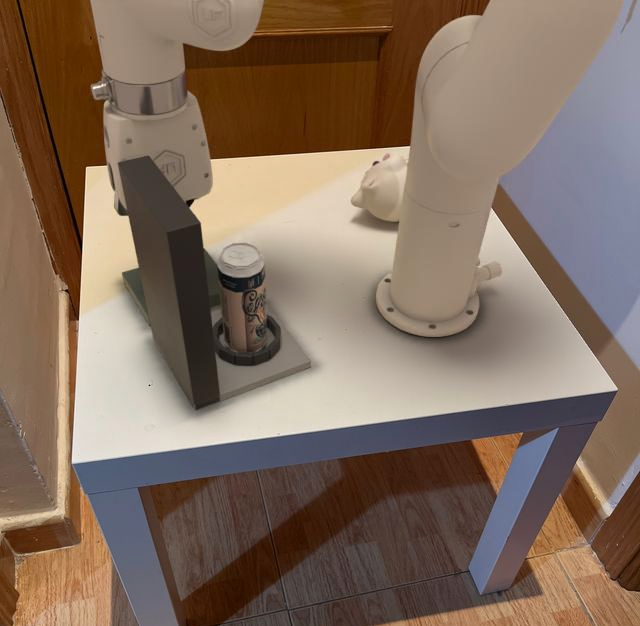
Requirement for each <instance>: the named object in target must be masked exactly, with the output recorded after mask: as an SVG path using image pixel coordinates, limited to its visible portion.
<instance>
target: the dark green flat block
mask: <svg viewBox="0 0 640 626" xmlns="http://www.w3.org/2000/svg"><path fill="white" fill-rule="evenodd" d="M204 255H205V264H206V273H207V282H208V291H209V300H210V308H212V307H215V306H218V305H221V299H220V289H219V279H218V269H217V262H216V261H215V260H214V259H213V257H212V256H211V255H210V253H209V252H208V250H207V249H206V248H204ZM121 276H122V280H123V284H124V286H125V287H126V290H127V291H128V292H129V295H130V296H131V297H132V299H133V301H134V303H135V304H136V306H137V308H138V309H139V311H140V312H141V314H142V316H143V318H144V320H145V321H146V323H147V324H148V327H150V328H151V325H150V320H149V315H148V310H147V305H146V300H145V295H144V290H143V285H142V281H141V276H140V271H139V267H136V268H131V269H129V270H125V271H122V272H121Z"/></svg>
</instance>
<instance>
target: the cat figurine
mask: <svg viewBox="0 0 640 626" xmlns="http://www.w3.org/2000/svg"><path fill="white" fill-rule="evenodd" d="M408 159H409V158H407V159H405V157H403V155H402V154H398V153H397V154H392V155H391V153H390V152H387V153H385V155H384V156H383V157H382V159H381V160H380V161H379V160H374V161H373V162H372V165H371V166H370V168H369V169H368V170H367V171H365V174H364V175H363V178H362V180H361V183H360V187H359V189H358V190H357V191H356V192H355V193H353V195H352V196H351V198H350V203H351V205H352V206H353V207H355V208H358V209H363V210H366V211H368V212H369V213H370V214H371V215H373V216H374V217H375V218H377V219H379V220H382V221H384V222H392V223H395V222H399V220H400V213H401V206H402V199H403V192H404V185H405V181H406V174H407V166H408Z"/></svg>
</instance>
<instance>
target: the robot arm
mask: <svg viewBox="0 0 640 626" xmlns="http://www.w3.org/2000/svg"><path fill="white" fill-rule="evenodd" d="M89 1H90V6H91V11H92V16H93V21H94V27H95V32H96V36H97V37H96V38H97V42H98V43H97V44H98V47H99V53H100V57H101V58H100V59H101V63H102V68H103V69H101V75H102V76H101V80H99V81H98V82H97V83H92V84H90V91H91V94H92V96H93V99H94V100H95V101H97V100H98V101H99V100H102V101H105V102H104V104H103V121H102V122H103V136H104V137H103V140H104V150H105V160H106V167H107V173H108V178H109V179H108V180H109V183H110V186H111V189H112V191H113V192H114V197H113V199H114V200H113V209H114V210H115V212H116V213H117V215H119V216H120V217H128V212H127V207H126V202H125V197H124V192H123V187H122V182H121V177H120V173H119V168H118V162H122V161H126V160H130V159H135V158H139V157H143V156H147V155H149V156H150V157H151V159H152V160H153V161H154V163H155V164H156V165H157V167H158V168H159V169H160V170H161V172H162V173H163V174H164V176H165V177H166V178H167V180H168V181H169V182H170V183H171V185H172V186H173V187H174V189H175V190H176V191H177V192H178V194H179V195H180V196H181V198H182V199H183V200H184V202H185V203H186V204H187V205H188V207H189V208H190V209H191V207H192V205H194V202H195V201H196V200H200V199H201V198H203V197H205V196H207V195H209V194H210V193H211V192H212V189H213V185H214V177H213V166H212V161H211V155H210V148H209V143H208V138H207V133H206V128H205V123H204V120H203V116H202V112H201V107H200V105H199V102H198V98H197V97H196V96H195V95H194V94H193V93H192V92H190V91H189V90H188V82H187V72H186V61H185V51H184V44H185V45H189V46H193V47H196V48H200V49H204V50H209V51H215V52H224V51H231V50H235V49H238V48H240V47H242V46H243V45H244V44H246V43H247V42H248V41H249V40H250V39H251V38H252V37H253V35H254V34H255V32H256V30H257V28H258V25H259V24H260V19H261V15H262V11H263V8H264V3H265V0H89ZM624 3H625V0H489V2H488V3H487V5H486V7H485V10H484V12H483V13H482V15H478V14H470V15H464V16H461V17H458V18H455V19H454V20H450V21H449V22H448V23H447V24H445V25H443V26H442V27H441V28H440V29H439V30H438V31H437V32H436V33H435V34H434V35H433V37H432V38H431V40H429V43H428V44H427V45H426V47H425V49H424V52H423V54H422V56H421V59H420V62H419V66H418V68H417V69H418V70H417V75H416V80H415V90H414V100H413V113H412V126H411V135H410V143H409V153H408V158H407V159H408V166H407V174H406V181H405V185H404V192H403V199H402V206H401V213H400V220H399V221H398V228H397V235H396V243H395V247H394V248H395V249H394V257H393V262H392V269H391V271H390V272H388V274H386V275H384V277H383V278H382V279H380V281H379V283H378V285H377V288H376V294H375V303H376V307H377V310H378V311H379V313H380V314H381V316H382V317H383V318H384V320H386V321H387V322H389V324H391V325H392V326H394V327H395V328H396V329H398V330H401V331H403V332H405V333H408V334H412V335H415V336H421V337H427V338H440V337H448V336H452V335H455V334H458V333H461V332H462V331H464V330H466V329H468V328H469V327H470V326H472V324H473V323H474V321H475V320H476V319H477V315H478V313H479V309H480V297H479V295H478V292H477V288H478V287H480V286H482V285H483V283H484V282H486V281H491V280H494V279H496V278H500V276H502V274H503V269H502V266H501V264H500V263H499V261H492V262H490V263H488V264H485V265H482V266H481V267H479V266H480V265H481V259H480V253H481V249H482V246H483V241H484V237H485V234H486V230H487V226H488V221H489V218H490V213H491V210H492V206H493V203H494V199H495V196H496V193H497V188H498V186H499V180H500V178H501V177H503V176H505V175H506V174H508V173H509V172H511V171H512V170H514V169H515V168H516V167H517V166H518V165H520V164H521V163H522V162H523V161H524V160H525V159H526V158H527V156H528V155H529V154H531V152H532V151H533V150H534V148H536V146H537V144H538V143H539V142H540V140H541V139H542V138H543V136H544V135H545V134H546V132H547V130H548V129H549V127H550V126H551V124H552V123H553V121H554V120H555V119H556V117H557V116H558V115H559V113H560V111H561V110H562V108H563V107H564V106H565V104H566V102H567V101H568V100H569V98H570V97H571V95H572V94H573V92H574V91H575V89H576V88H577V87H578V84H580V82H581V80H582V79H583V78H584V76H585V74H586V73H587V71H588V70H589V68H590V67H591V65H592V64H593V62H594V61H595V60H596V58H597V57H598V55H599V53H600V52H601V50H602V49H603V47H604V45H605V44H606V42H607V40H608V39H609V37H610V35H611V34H612V32H613V30H614V28H615V26H616V23H617V22H618V18H619V16H620V14H621V11H622V8H623V5H624Z"/></svg>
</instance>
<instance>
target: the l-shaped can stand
mask: <svg viewBox="0 0 640 626" xmlns="http://www.w3.org/2000/svg"><path fill="white" fill-rule="evenodd" d="M118 168H119V173H120V177H121V182H122V187H123V192H124V197H125V202H126V207H127V212H128V216H127V217H128V221H129V226H130V230H131V236H132V241H133V245H134V251H135V255H136V260H137V266H138V268H139V271H140V276H141V281H142V285H143V290H144V295H145V300H146V305H147V310H148V315H149V320H150V325H151V327H150V329H151V335H152V340H153V342H154V344H155V346H156V347H157V349H158V351H159V353H160V354H161V356H162V358H163V359H164V361H165V363H166V364H167V366H168V368H169V369H170V371H171V373H172V374H173V376H174V378H175V379H176V381H177V383H178V384H179V386H180V388H181V390H182V392H183V393H184V395H185V396H186V398H187V400H188V401H189V403H190V405H191V407H192V408H193V410H194V411H195V412H196V411H198V410H201V409H204V408H207V407H209V406H211V405H214V404H216V403H219V402H222V401H225V400H227V399H230V398H232V397H236V396H238V395H240V394H243V393H246V392H248V391H251V390H254V389H256V388H259V387H262V386H265V385H268V384H269V383H272V382H275V381H277V380H280V379H283V378H286V377H289V376H291V375H295V374H296V373H300V372H301V371H304V370H307V369H309V368H312V360H311V359H310V358H309V356H308V355H307V354H306V352H305V351H304V350H303V348H301V347H302V346H300V345H299V344H298V342H297V341H296V340H295V338H294V337H293V335H291V333H290V332H289V331H288V329H287V328H286V327H285V325H284V324H283V323H282V322H281V320H280V319H279V318H278V316H277V315H276V314H275V313H274V311H273V310H272V309H271V307H270V306H269V304H268V303H266V317H267V342H266V344H265V346H264V347H263V348H262V349H260V350H259V351H256V352H253V353H241V352H234V351H232V350H230V349H229V348H228V347H227V345H226V344H225V340H224V330H223V320H222V311H221V312H218V313H216V314H213V315H212V311H211V307H210V300H209V291H208V282H207V273H206V264H205V255H204V247H205V246H204V239H203V230H202V222H201V221H200V219H199V218H198V217H197V216H196V214H195V213H194V212H193V210H192V209H191V207H190V208H189V207H188V205H187V204H186V203H185V202H184V200H183V199H182V198H181V196H180V195H179V194H178V192H177V191H176V190H175V189H174V187H173V186H172V185H171V183H170V182H169V181H168V180H167V178H166V177H165V176H164V174H163V173H162V172H161V170H160V169H159V168H158V167H157V165H156V164H155V163H154V161H153V160H152V159H151V157H150V156H149V155H147V156H143V157H139V158H135V159H130V160H126V161H122V162H118Z"/></svg>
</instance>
